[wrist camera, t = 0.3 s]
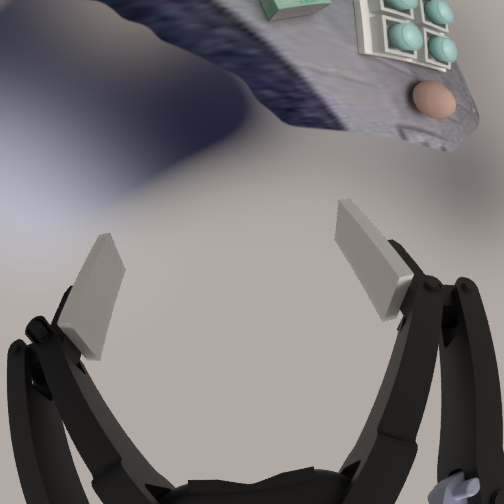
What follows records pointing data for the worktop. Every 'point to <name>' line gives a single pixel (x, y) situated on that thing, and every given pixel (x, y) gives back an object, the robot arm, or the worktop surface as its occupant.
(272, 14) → the box
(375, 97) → the worktop surface
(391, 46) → the board
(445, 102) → the egg
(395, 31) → the button
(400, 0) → the button
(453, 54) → the button
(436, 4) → the button
